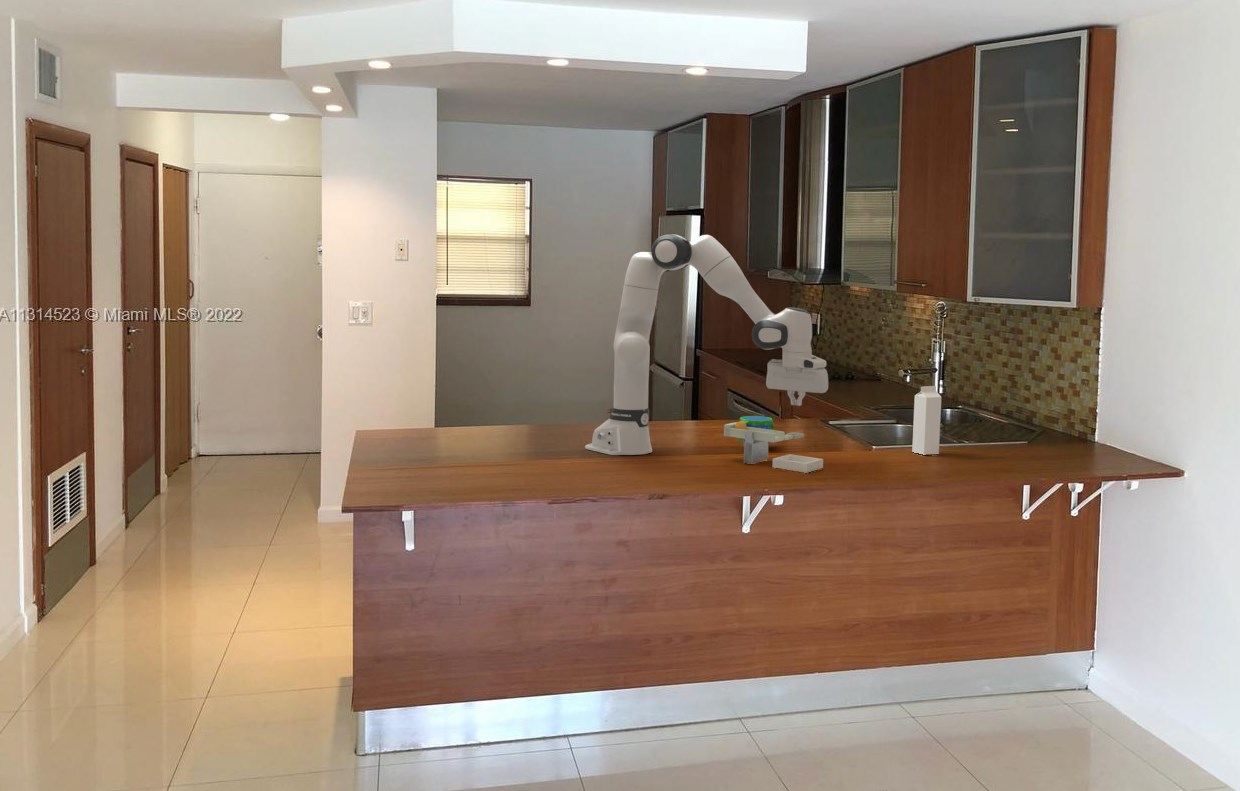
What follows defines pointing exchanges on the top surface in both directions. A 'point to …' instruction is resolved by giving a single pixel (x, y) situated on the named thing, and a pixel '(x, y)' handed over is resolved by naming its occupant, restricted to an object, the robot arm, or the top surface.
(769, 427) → the snack cup
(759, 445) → the stand
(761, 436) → the lever
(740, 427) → the ball
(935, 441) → the milk
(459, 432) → the top surface
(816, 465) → the white flat rimmed tray
